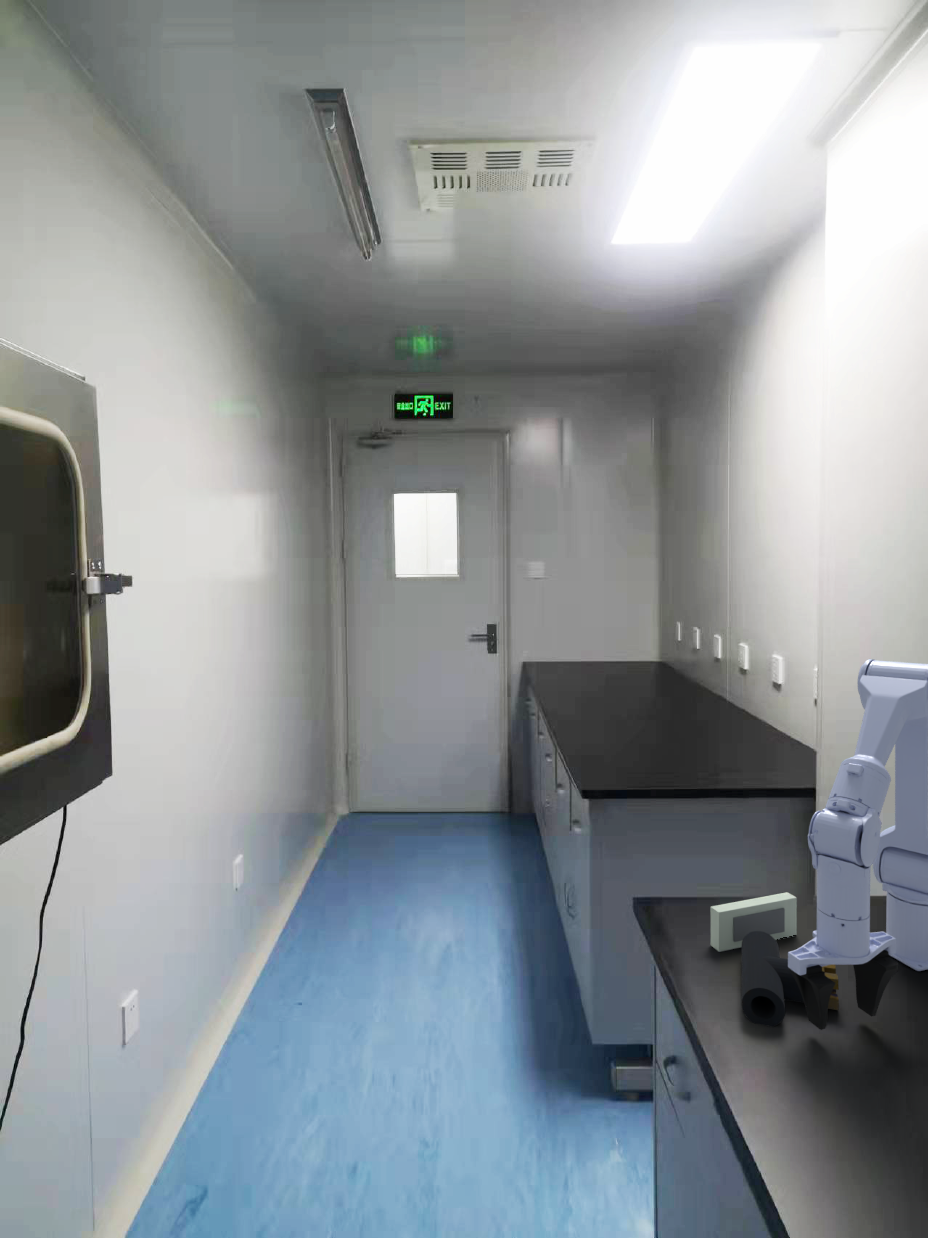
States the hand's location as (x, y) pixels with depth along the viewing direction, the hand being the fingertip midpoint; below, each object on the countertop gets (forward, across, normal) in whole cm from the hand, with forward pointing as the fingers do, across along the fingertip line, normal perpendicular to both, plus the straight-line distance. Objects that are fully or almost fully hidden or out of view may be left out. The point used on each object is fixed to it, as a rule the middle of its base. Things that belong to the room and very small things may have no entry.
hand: (842, 1018), depth 89 cm
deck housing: (+2, -4, -21) cm, 22 cm away
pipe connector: (+2, +1, -8) cm, 8 cm away
